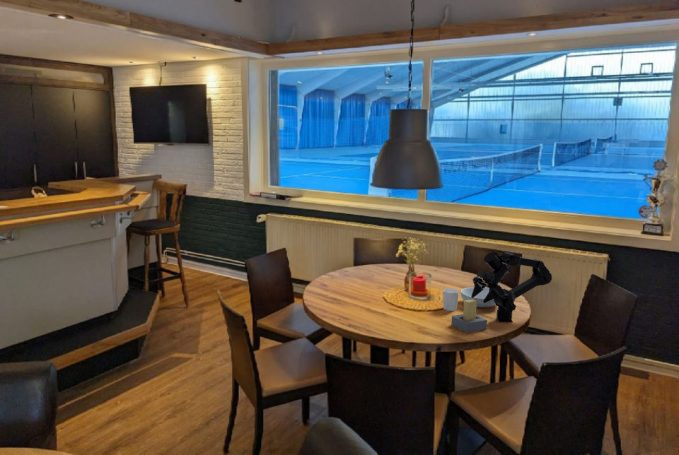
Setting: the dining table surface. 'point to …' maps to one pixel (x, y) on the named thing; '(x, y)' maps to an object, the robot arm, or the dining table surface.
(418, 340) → the dining table surface
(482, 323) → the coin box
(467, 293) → the serving bowl
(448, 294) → the white cup
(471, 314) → the pale yellow block
